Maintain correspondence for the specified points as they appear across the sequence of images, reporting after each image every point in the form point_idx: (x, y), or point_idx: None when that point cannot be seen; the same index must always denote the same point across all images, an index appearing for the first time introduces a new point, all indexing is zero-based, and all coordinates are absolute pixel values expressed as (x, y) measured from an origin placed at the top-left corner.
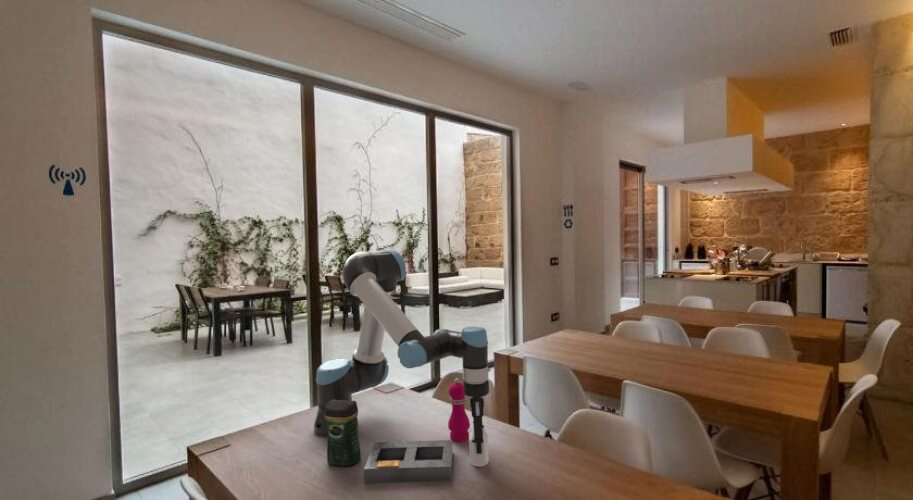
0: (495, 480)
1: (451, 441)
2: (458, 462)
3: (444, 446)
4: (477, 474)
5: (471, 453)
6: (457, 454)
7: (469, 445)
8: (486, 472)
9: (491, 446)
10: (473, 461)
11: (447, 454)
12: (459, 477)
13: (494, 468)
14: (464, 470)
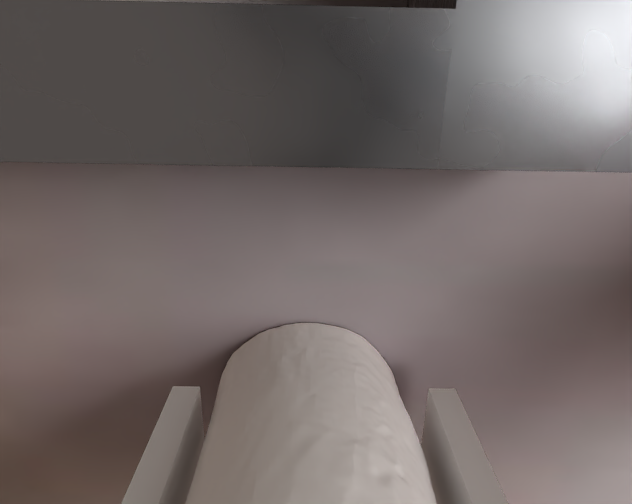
0: (11, 487)
1: (610, 160)
2: (315, 207)
3: (445, 28)
4: (86, 372)
5: (238, 411)
6: (496, 196)
7: (269, 463)
8: (127, 437)
9: (573, 491)
10: (233, 372)
11: (136, 95)
12: (8, 216)
13: None
14: (150, 265)
